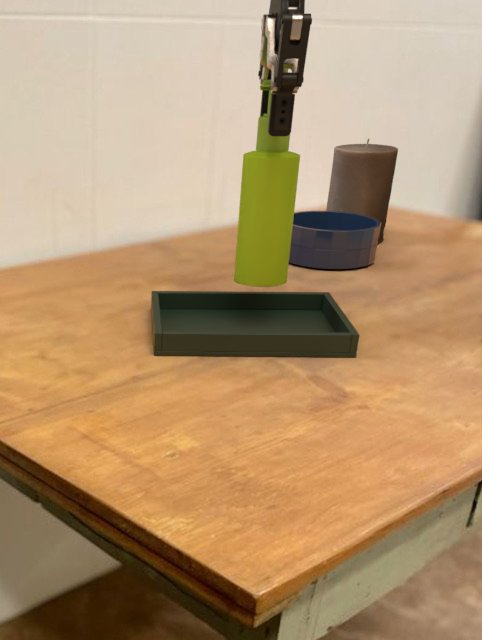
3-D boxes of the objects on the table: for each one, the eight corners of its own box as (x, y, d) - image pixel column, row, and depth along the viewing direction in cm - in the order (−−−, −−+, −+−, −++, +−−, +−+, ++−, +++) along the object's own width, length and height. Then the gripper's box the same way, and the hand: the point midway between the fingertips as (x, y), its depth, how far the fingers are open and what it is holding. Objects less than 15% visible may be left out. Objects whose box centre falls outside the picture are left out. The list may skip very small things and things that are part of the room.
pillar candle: (395, 242, 131) (414, 140, 123) (347, 248, 128) (363, 144, 120) (356, 229, 139) (371, 133, 131) (309, 235, 135) (322, 136, 127)
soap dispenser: (225, 286, 90) (240, 80, 80) (241, 273, 95) (256, 78, 85) (278, 291, 88) (300, 80, 78) (291, 277, 93) (313, 79, 83)
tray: (326, 312, 100) (329, 292, 99) (356, 357, 87) (359, 334, 86) (150, 310, 101) (151, 290, 99) (153, 355, 87) (154, 333, 86)
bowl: (361, 247, 128) (367, 210, 125) (385, 271, 116) (392, 231, 113) (271, 246, 128) (274, 210, 125) (285, 270, 116) (290, 231, 113)
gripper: (353, -79, 68) (325, 141, 77) (319, -64, 81) (298, 124, 89) (264, -79, 68) (246, 141, 77) (243, -64, 81) (230, 124, 90)
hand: (274, 131), depth 83 cm, fingers closed on soap dispenser, 5 cm apart
